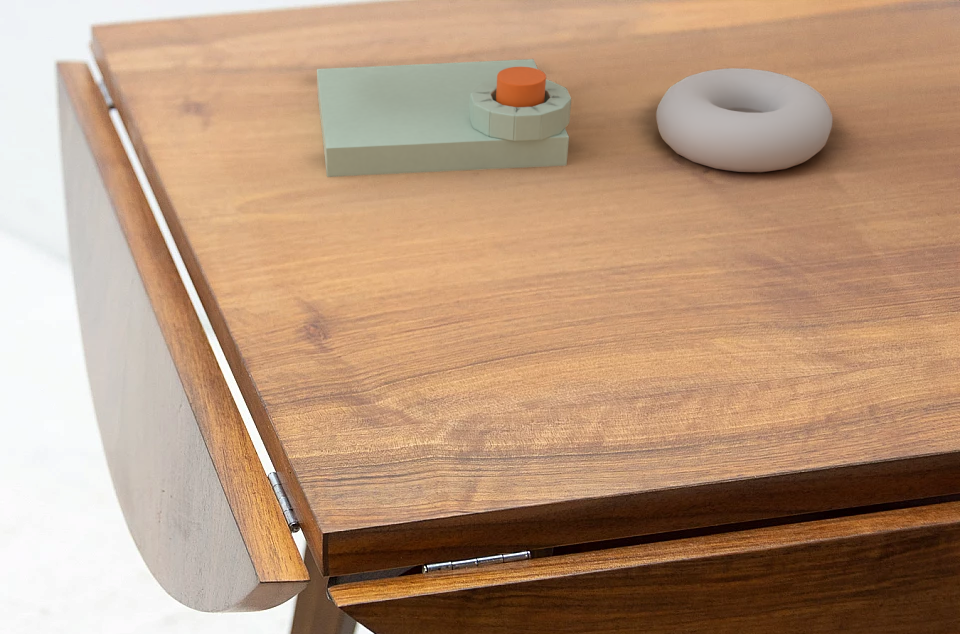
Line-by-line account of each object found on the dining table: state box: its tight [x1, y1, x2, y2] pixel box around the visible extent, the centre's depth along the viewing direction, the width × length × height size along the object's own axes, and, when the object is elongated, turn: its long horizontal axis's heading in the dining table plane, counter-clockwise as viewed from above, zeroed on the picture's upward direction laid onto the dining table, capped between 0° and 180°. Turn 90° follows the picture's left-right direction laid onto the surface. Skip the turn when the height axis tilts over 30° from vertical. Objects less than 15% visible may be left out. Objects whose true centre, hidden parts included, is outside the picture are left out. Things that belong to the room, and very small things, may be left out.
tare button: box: [496, 67, 547, 107], centre depth 80 cm, size 3×3×2 cm
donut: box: [655, 67, 834, 173], centre depth 81 cm, size 10×4×10 cm
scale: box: [316, 58, 572, 178], centre depth 84 cm, size 14×12×4 cm
